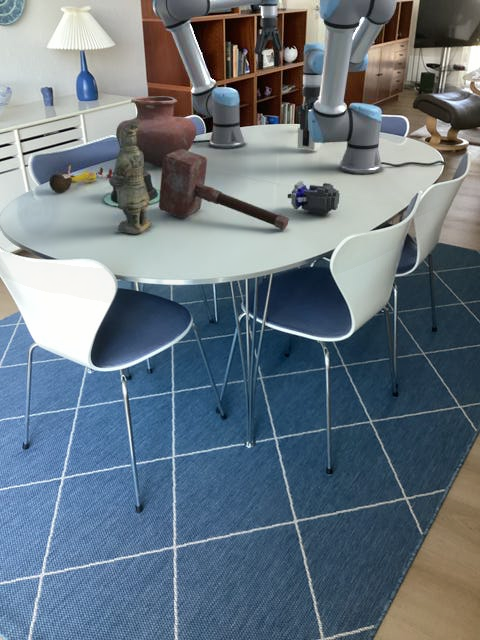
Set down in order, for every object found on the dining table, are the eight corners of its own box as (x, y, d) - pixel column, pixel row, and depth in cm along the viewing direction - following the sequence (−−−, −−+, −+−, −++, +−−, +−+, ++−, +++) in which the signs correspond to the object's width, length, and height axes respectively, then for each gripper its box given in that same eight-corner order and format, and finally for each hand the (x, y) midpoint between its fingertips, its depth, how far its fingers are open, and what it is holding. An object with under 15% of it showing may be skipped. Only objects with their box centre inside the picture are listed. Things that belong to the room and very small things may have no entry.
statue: (131, 220, 168) (117, 116, 152) (158, 224, 164) (147, 118, 149) (109, 233, 159) (93, 124, 144) (138, 237, 156) (124, 126, 140)
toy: (295, 178, 172) (342, 184, 166) (295, 205, 177) (340, 211, 171) (285, 186, 166) (333, 192, 160) (284, 213, 170) (331, 220, 164)
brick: (304, 144, 241) (305, 125, 237) (321, 147, 237) (322, 127, 232) (297, 147, 237) (298, 127, 233) (314, 150, 232) (315, 130, 228)
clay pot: (204, 155, 234) (201, 91, 222) (186, 175, 209) (181, 105, 196) (136, 153, 239) (129, 91, 227) (109, 172, 214) (100, 104, 201)
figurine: (118, 166, 204) (64, 174, 185) (119, 186, 207) (65, 196, 188) (93, 161, 211) (38, 168, 191) (95, 181, 214) (40, 190, 195)
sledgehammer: (299, 190, 156) (179, 147, 167) (285, 200, 148) (161, 154, 160) (286, 244, 166) (174, 200, 177) (272, 256, 158) (156, 209, 170)
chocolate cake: (91, 202, 180) (113, 186, 197) (142, 231, 182) (160, 212, 199) (107, 162, 172) (129, 148, 190) (160, 192, 174) (177, 176, 192)
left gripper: (276, 15, 261) (276, 65, 272) (246, 18, 244) (246, 70, 255) (290, 15, 257) (289, 65, 268) (260, 18, 240) (260, 71, 251)
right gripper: (315, 82, 233) (312, 138, 244) (291, 88, 220) (290, 147, 231) (331, 83, 229) (328, 140, 240) (308, 89, 216) (306, 150, 227)
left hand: (268, 68), depth 261 cm, fingers open, 13 cm apart
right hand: (309, 144), depth 236 cm, fingers closed on brick, 6 cm apart
